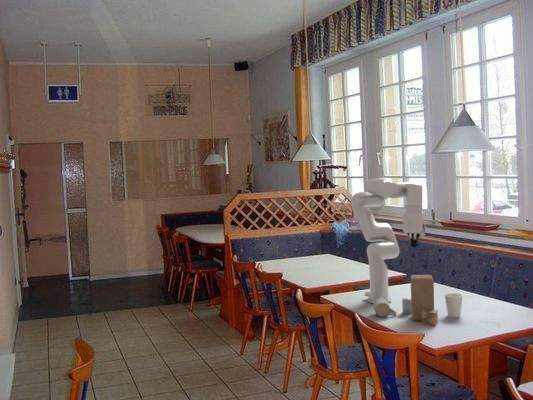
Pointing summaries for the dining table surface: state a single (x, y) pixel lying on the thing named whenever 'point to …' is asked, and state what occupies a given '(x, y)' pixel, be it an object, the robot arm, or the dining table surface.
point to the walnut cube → (429, 317)
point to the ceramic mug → (383, 308)
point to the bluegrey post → (406, 305)
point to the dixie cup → (453, 304)
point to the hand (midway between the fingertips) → (414, 246)
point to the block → (421, 295)
